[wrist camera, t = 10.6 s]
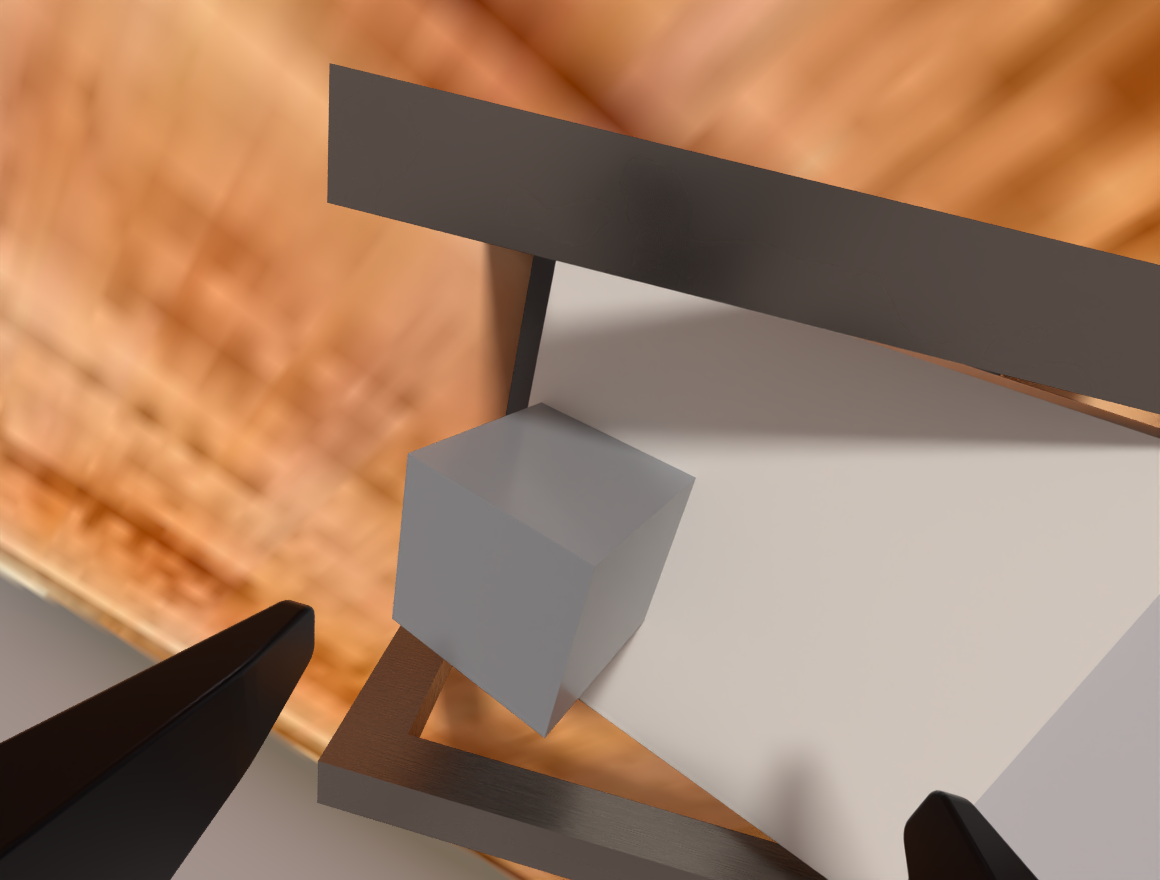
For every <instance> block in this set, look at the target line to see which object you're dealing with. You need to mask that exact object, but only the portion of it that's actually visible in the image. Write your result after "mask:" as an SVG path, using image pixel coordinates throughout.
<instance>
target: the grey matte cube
mask: <svg viewBox="0 0 1160 880" xmlns="http://www.w3.org/2000/svg"><path fill="white" fill-rule="evenodd" d="M695 479H696V477H694V476H692V475H689V474H687V473H685V472H683V471H681V470H679V469H677V468H675V467H673V466H671V465H669V464H667V463H665V462H663V461H661V460H659V459H657V458H655V457H653V456H650V455H648V454H646V453H644V452H642V451H640V450H638V449H636V448H634V447H632V446H630V445H628V444H626V443H624V442H622V441H620V440H618V439H616V438H613V437H611V436H609V435H607V434H605V433H603V432H601V431H599V430H597V429H595V428H593V427H591V426H589V425H587V424H585V423H583V422H581V421H579V420H577V419H574V418H572V417H570V416H568V415H566V414H564V413H562V412H560V411H558V410H556V409H554V408H552V407H550V406H548V405H546V404H544V403H542V402H541V403H538V404H536V405H533V406H531V407H528V408H525V409H523V410H520V411H517V412H515V413H512V414H510V415H507V416H504V417H502V418H499V419H497V420H494V421H491V422H489V423H486V424H483V425H481V426H478V427H476V428H473V429H470V430H468V431H465V432H463V433H460V434H457V435H455V436H452V437H449V438H447V439H444V440H442V441H439V442H436V443H434V444H431V445H429V446H426V447H423V448H421V449H418V450H415V451H413V452H410V453H408V458H407V469H406V479H405V490H404V500H403V511H402V521H401V532H400V542H399V553H398V563H397V574H396V584H395V595H394V606H393V616H392V619H393V620H395V621H396V622H397V623H399V624H400V625H401V626H402V627H404V628H405V629H406V630H407V631H409V632H410V633H411V634H413V635H414V636H415V637H416V638H418V639H419V640H420V641H422V642H423V643H424V644H425V645H427V646H428V647H429V648H430V649H432V650H433V651H434V652H436V653H437V654H438V655H439V656H441V657H442V658H443V659H444V660H446V661H447V662H448V663H450V664H451V665H452V666H453V667H455V668H456V669H457V670H458V671H460V672H461V673H462V674H464V675H465V676H466V677H467V678H469V679H470V680H471V681H473V682H474V683H475V684H476V685H478V686H479V687H480V688H481V689H483V690H484V691H485V692H487V693H488V694H489V695H490V696H492V697H493V698H494V699H495V700H497V701H498V702H499V703H501V704H502V705H503V706H504V707H506V708H507V709H508V710H509V711H511V712H512V713H513V714H515V715H516V716H517V717H518V718H520V719H521V720H522V721H524V722H525V723H526V724H527V725H529V726H530V727H531V728H532V729H534V730H535V731H536V732H538V733H539V734H540V735H541V736H543V737H544V738H545V737H546V736H547V735H548V734H549V732H550V731H551V730H552V729H553V728H554V726H555V725H556V724H557V723H558V722H559V721H560V719H561V718H562V717H563V716H564V715H565V713H566V712H567V711H568V710H569V709H570V708H571V706H572V705H573V704H574V703H575V702H576V700H577V699H578V698H579V697H580V696H581V695H582V693H583V692H584V691H585V690H586V689H587V688H588V686H589V685H590V684H591V683H592V682H593V680H594V679H595V678H596V677H597V676H598V675H599V673H600V672H601V671H602V670H603V669H604V667H605V666H606V665H607V664H608V663H609V662H610V660H611V659H612V658H613V657H614V656H615V654H616V653H617V652H618V651H619V650H620V649H621V647H622V646H623V645H624V644H625V643H626V642H627V640H628V639H629V638H630V637H631V636H632V634H633V633H634V632H635V631H636V630H637V629H638V627H639V626H640V625H641V624H642V623H643V621H644V620H645V617H646V614H647V612H648V609H649V606H650V603H651V601H652V598H653V595H654V592H655V590H656V587H657V584H658V581H659V579H660V576H661V573H662V570H663V568H664V565H665V562H666V559H667V557H668V554H669V551H670V548H671V546H672V543H673V540H674V537H675V535H676V532H677V529H678V526H679V523H680V521H681V518H682V515H683V512H684V510H685V507H686V504H687V501H688V499H689V496H690V493H691V490H692V488H693V485H694V482H695Z"/></svg>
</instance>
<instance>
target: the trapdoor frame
mask: <svg viewBox="0 0 1160 880" xmlns="http://www.w3.org/2000/svg"><path fill="white" fill-rule="evenodd" d="M327 203H331V204H335V205H339V206H343V207H347V208H351V209H355V210H359V211H363V212H367V213H371V214H375V215H379V216H382V217H386V218H390V219H394V220H398V221H402V222H406V223H410V224H414V225H418V226H422V227H426V228H430V229H434V230H437V231H441V232H445V233H449V234H453V235H457V236H461V237H465V238H469V239H473V240H477V241H481V242H485V243H489V244H492V245H496V246H500V247H504V248H508V249H512V250H516V251H520V252H524V253H528V254H532V255H534V257H533V263H532V269H531V275H530V280H529V286H528V292H527V297H526V303H525V309H524V315H523V320H522V326H521V332H520V337H519V343H518V349H517V355H516V360H515V366H514V372H513V377H512V383H511V389H510V395H509V400H508V406H507V412H506V416H507V415H510V414H512V413H515V412H517V411H520V410H523V409H525V408H528V404H529V399H530V394H531V388H532V383H533V378H534V373H535V368H536V363H537V357H538V352H539V347H540V342H541V337H542V331H543V326H544V321H545V316H546V311H547V306H548V300H549V295H550V290H551V285H552V280H553V274H554V269H555V264H556V261H559V262H563V263H567V264H571V265H575V266H579V267H583V268H587V269H591V270H595V271H599V272H603V273H606V274H610V275H614V276H618V277H622V278H626V279H630V280H634V281H638V282H642V283H646V284H650V285H654V286H658V287H662V288H665V289H669V290H673V291H677V292H681V293H685V294H689V295H693V296H697V297H701V298H705V299H709V300H713V301H717V302H720V303H724V304H728V305H732V306H736V307H740V308H744V309H748V310H752V311H756V312H760V313H764V314H768V315H772V316H776V317H779V318H783V319H787V320H791V321H795V322H799V323H803V324H807V325H811V326H815V327H819V328H823V329H827V330H831V331H834V332H838V333H842V334H846V335H850V336H854V337H858V338H862V339H866V340H870V341H874V342H878V343H882V344H886V345H890V346H893V347H897V348H901V349H905V350H909V351H913V352H917V353H921V354H925V355H929V356H933V357H937V358H941V359H945V360H948V361H952V362H956V363H960V364H964V365H967V366H970V367H973V368H976V369H979V370H983V371H986V372H989V373H992V374H995V375H998V376H1000V374H1003V375H1007V376H1011V377H1015V378H1019V379H1023V380H1027V381H1031V382H1035V383H1039V384H1043V385H1047V386H1051V387H1055V388H1059V389H1062V390H1066V391H1070V392H1074V393H1078V394H1082V395H1086V396H1090V397H1094V398H1098V399H1102V400H1106V401H1110V402H1114V403H1117V404H1121V405H1125V406H1129V407H1133V408H1137V409H1141V410H1145V411H1149V412H1153V413H1157V414H1160V265H1157V264H1153V263H1149V262H1145V261H1141V260H1136V259H1132V258H1128V257H1124V256H1120V255H1116V254H1112V253H1108V252H1103V251H1099V250H1095V249H1091V248H1087V247H1083V246H1079V245H1075V244H1071V243H1066V242H1062V241H1058V240H1054V239H1050V238H1046V237H1042V236H1038V235H1034V234H1029V233H1025V232H1021V231H1017V230H1013V229H1009V228H1005V227H1001V226H997V225H992V224H988V223H984V222H980V221H976V220H972V219H968V218H964V217H960V216H955V215H951V214H947V213H943V212H939V211H935V210H931V209H927V208H923V207H918V206H914V205H910V204H906V203H902V202H898V201H894V200H890V199H886V198H881V197H877V196H873V195H869V194H865V193H861V192H857V191H853V190H849V189H844V188H840V187H836V186H832V185H828V184H824V183H820V182H816V181H812V180H807V179H803V178H799V177H795V176H791V175H787V174H783V173H779V172H775V171H770V170H766V169H762V168H758V167H754V166H750V165H746V164H742V163H738V162H733V161H729V160H725V159H721V158H717V157H713V156H709V155H705V154H701V153H696V152H692V151H688V150H684V149H680V148H676V147H672V146H668V145H664V144H659V143H655V142H651V141H647V140H643V139H639V138H635V137H631V136H627V135H622V134H618V133H614V132H610V131H606V130H602V129H598V128H594V127H590V126H585V125H581V124H577V123H573V122H569V121H565V120H561V119H557V118H553V117H548V116H544V115H540V114H536V113H532V112H528V111H524V110H520V109H516V108H511V107H507V106H503V105H499V104H495V103H491V102H487V101H483V100H479V99H474V98H470V97H466V96H462V95H458V94H454V93H450V92H446V91H442V90H437V89H433V88H429V87H425V86H421V85H417V84H413V83H409V82H405V81H400V80H396V79H392V78H388V77H384V76H380V75H376V74H372V73H368V72H363V71H359V70H355V69H351V68H347V67H343V66H339V65H335V64H331V63H330V75H329V135H328V196H327ZM451 668H452V665H451V664H450V663H448V662H447V661H446V660H444V659H443V658H442V657H441V656H439V655H438V654H437V653H436V652H434V651H433V650H432V649H430V648H429V647H428V646H427V645H425V644H424V643H423V642H422V641H420V640H419V639H418V638H416V637H415V636H414V635H413V634H411V633H410V632H409V631H407V630H406V629H405V628H404V627H402V626H400V627H399V629H398V631H397V632H396V634H395V636H394V637H393V639H392V641H391V642H390V644H389V645H388V647H387V649H386V650H385V652H384V654H383V655H382V657H381V659H380V660H379V662H378V664H377V665H376V667H375V668H374V670H373V672H372V673H371V675H370V677H369V678H368V680H367V682H366V683H365V685H364V687H363V688H362V690H361V691H360V693H359V695H358V696H357V698H356V700H355V701H354V703H353V705H352V706H351V708H350V710H349V711H348V713H347V714H346V716H345V718H344V719H343V721H342V723H341V724H340V726H339V728H338V729H337V731H336V733H335V734H334V736H333V737H332V739H331V741H330V742H329V744H328V746H327V747H326V749H325V751H324V752H323V754H322V756H321V757H320V759H319V760H318V800H317V801H318V802H317V803H320V804H324V805H327V806H330V807H333V808H337V809H340V810H343V811H347V812H350V813H353V814H357V815H360V816H363V817H366V818H370V819H373V820H376V821H380V822H383V823H386V824H390V825H393V826H396V827H400V828H403V829H406V830H409V831H413V832H416V833H420V834H423V835H426V836H429V837H433V838H436V839H439V840H443V841H446V842H449V843H452V844H456V845H459V846H462V847H466V848H469V849H472V850H475V851H479V852H482V853H485V854H489V855H492V856H495V857H499V858H502V859H505V860H508V861H512V862H515V863H518V864H522V865H525V866H528V867H532V868H535V869H538V870H542V871H545V872H548V873H551V874H555V875H558V876H561V877H565V878H568V879H571V880H828V879H827V878H825V877H824V876H823V875H821V874H820V873H818V872H817V871H816V870H814V869H813V868H812V867H810V866H809V865H807V864H806V863H805V862H803V861H802V860H801V859H799V858H798V857H796V856H795V855H794V854H792V853H791V852H789V851H788V850H787V849H785V848H784V847H783V846H781V845H780V844H778V843H774V842H771V841H767V840H764V839H761V838H757V837H754V836H751V835H747V834H744V833H740V832H737V831H734V830H730V829H727V828H723V827H720V826H717V825H713V824H710V823H706V822H703V821H700V820H696V819H693V818H690V817H686V816H683V815H679V814H676V813H673V812H669V811H666V810H662V809H659V808H656V807H652V806H649V805H645V804H642V803H639V802H635V801H632V800H629V799H625V798H622V797H618V796H615V795H612V794H608V793H605V792H601V791H598V790H595V789H591V788H588V787H584V786H581V785H578V784H574V783H571V782H568V781H564V780H561V779H557V778H554V777H551V776H547V775H544V774H540V773H537V772H534V771H530V770H527V769H523V768H520V767H517V766H513V765H510V764H506V763H503V762H500V761H496V760H493V759H490V758H486V757H483V756H479V755H476V754H473V753H469V752H466V751H462V750H459V749H456V748H452V747H449V746H445V745H442V744H439V743H435V742H432V741H429V740H425V739H422V738H420V736H421V733H422V731H423V729H424V727H425V725H426V722H427V720H428V718H429V716H430V714H431V711H432V709H433V707H434V705H435V703H436V700H437V698H438V696H439V694H440V692H441V689H442V687H443V685H444V683H445V681H446V678H447V676H448V674H449V672H450V670H451ZM908 880H909V879H908Z"/></svg>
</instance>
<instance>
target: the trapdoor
mask: <svg viewBox="0 0 1160 880" xmlns="http://www.w3.org/2000/svg"><path fill="white" fill-rule="evenodd" d="M541 402H542V403H544V404H546V405H548V406H550V407H552V408H554V409H556V410H558V411H560V412H562V413H564V414H566V415H568V416H570V417H572V418H574V419H577V420H579V421H581V422H583V423H585V424H587V425H589V426H591V427H593V428H595V429H597V430H599V431H601V432H603V433H605V434H607V435H609V436H611V437H613V438H616V439H618V440H620V441H622V442H624V443H626V444H628V445H630V446H632V447H634V448H636V449H638V450H640V451H642V452H644V453H646V454H648V455H650V456H653V457H655V458H657V459H659V460H661V461H663V462H665V463H667V464H669V465H671V466H673V467H675V468H677V469H679V470H681V471H683V472H685V473H687V474H689V475H692V476H694V477H696V479H695V482H694V485H693V488H692V490H691V493H690V496H689V499H688V501H687V504H686V507H685V510H684V512H683V515H682V518H681V521H680V523H679V526H678V529H677V532H676V535H675V537H674V540H673V543H672V546H671V548H670V551H669V554H668V557H667V559H666V562H665V565H664V568H663V570H662V573H661V576H660V579H659V581H658V584H657V587H656V590H655V592H654V595H653V598H652V601H651V603H650V606H649V609H648V612H647V614H646V617H645V620H644V621H643V623H642V624H641V625H640V626H639V627H638V629H637V630H636V631H635V632H634V633H633V634H632V636H631V637H630V638H629V639H628V640H627V642H626V643H625V644H624V645H623V646H622V647H621V649H620V650H619V651H618V652H617V653H616V654H615V656H614V657H613V658H612V659H611V660H610V662H609V663H608V664H607V665H606V666H605V667H604V669H603V670H602V671H601V672H600V673H599V675H598V676H597V677H596V678H595V679H594V680H593V682H592V683H591V684H590V685H589V686H588V688H587V689H586V690H585V691H584V692H583V693H582V695H581V696H580V697H579V698H578V699H580V700H581V701H582V702H584V703H585V704H587V705H588V706H589V707H591V708H592V709H593V710H595V711H596V712H598V713H599V714H600V715H602V716H603V717H605V718H606V719H607V720H609V721H610V722H611V723H613V724H614V725H616V726H617V727H618V728H620V729H621V730H622V731H624V732H625V733H627V734H628V735H629V736H631V737H632V738H634V739H635V740H636V741H638V742H639V743H640V744H642V745H643V746H645V747H646V748H647V749H649V750H650V751H651V752H653V753H654V754H656V755H657V756H658V757H660V758H661V759H662V760H664V761H665V762H667V763H668V764H669V765H671V766H672V767H674V768H675V769H676V770H678V771H679V772H680V773H682V774H683V775H685V776H686V777H687V778H689V779H690V780H691V781H693V782H694V783H696V784H697V785H698V786H700V787H701V788H703V789H704V790H705V791H707V792H708V793H709V794H711V795H712V796H714V797H715V798H716V799H718V800H719V801H720V802H722V803H723V804H725V805H726V806H727V807H729V808H730V809H732V810H733V811H734V812H736V813H737V814H738V815H740V816H741V817H743V818H744V819H745V820H747V821H748V822H749V823H751V824H752V825H754V826H755V827H756V828H758V829H759V830H760V831H762V832H763V833H765V834H766V835H767V836H769V837H770V838H772V839H773V840H774V841H776V842H777V843H778V844H780V845H781V846H783V847H784V848H785V849H787V850H788V851H789V852H791V853H792V854H794V855H795V856H796V857H798V858H799V859H801V860H802V861H803V862H805V863H806V864H807V865H809V866H810V867H812V868H813V869H814V870H816V871H817V872H818V873H820V874H821V875H823V876H824V877H825V878H827V879H828V880H908V879H909V878H908V870H907V863H906V856H905V848H904V840H903V834H904V827H905V824H906V822H907V820H908V819H909V817H910V816H911V815H912V814H913V813H914V811H915V810H916V809H917V808H918V807H919V805H920V804H921V803H922V802H923V801H924V799H925V798H926V797H927V796H928V795H929V794H930V793H931V792H932V791H936V790H941V791H944V792H948V793H951V794H954V795H958V796H961V797H964V798H966V799H967V800H969V801H970V802H971V803H972V804H973V805H974V806H975V807H976V808H977V809H978V810H979V811H980V813H981V814H982V815H983V816H984V817H985V818H986V820H987V821H988V822H989V823H990V824H991V825H992V826H993V828H994V829H995V830H996V831H997V832H998V833H999V835H1000V836H1001V837H1002V838H1003V839H1004V840H1005V841H1006V843H1007V844H1008V845H1009V846H1010V847H1011V848H1012V850H1013V851H1014V852H1015V853H1016V854H1017V855H1018V856H1019V858H1020V859H1021V860H1022V861H1023V862H1024V863H1025V865H1026V866H1027V867H1028V868H1029V869H1030V870H1031V871H1032V873H1033V874H1034V875H1035V876H1036V877H1037V878H1038V880H1160V428H1157V427H1154V426H1151V425H1148V424H1145V423H1142V422H1139V421H1136V420H1133V419H1130V418H1127V417H1123V416H1120V415H1117V414H1114V413H1111V412H1108V411H1105V410H1102V409H1099V408H1096V407H1093V406H1090V405H1087V404H1084V403H1081V402H1078V401H1074V400H1071V399H1068V398H1065V397H1062V396H1059V395H1056V394H1053V393H1050V392H1047V391H1044V390H1041V389H1038V388H1035V387H1032V386H1029V385H1025V384H1022V383H1019V382H1016V381H1013V380H1010V379H1007V378H1004V377H1001V376H998V375H995V374H992V373H989V372H986V371H983V370H979V369H976V368H973V367H970V366H967V365H964V364H960V363H956V362H952V361H948V360H945V359H941V358H937V357H933V356H929V355H925V354H921V353H917V352H913V351H909V350H905V349H901V348H897V347H893V346H890V345H886V344H882V343H878V342H874V341H870V340H866V339H862V338H858V337H854V336H850V335H846V334H842V333H838V332H834V331H831V330H827V329H823V328H819V327H815V326H811V325H807V324H803V323H799V322H795V321H791V320H787V319H783V318H779V317H776V316H772V315H768V314H764V313H760V312H756V311H752V310H748V309H744V308H740V307H736V306H732V305H728V304H724V303H720V302H717V301H713V300H709V299H705V298H701V297H697V296H693V295H689V294H685V293H681V292H677V291H673V290H669V289H665V288H662V287H658V286H654V285H650V284H646V283H642V282H638V281H634V280H630V279H626V278H622V277H618V276H614V275H610V274H606V273H603V272H599V271H595V270H591V269H587V268H583V267H579V266H575V265H571V264H567V263H563V262H559V261H556V264H555V269H554V274H553V280H552V285H551V290H550V295H549V300H548V306H547V311H546V316H545V321H544V326H543V331H542V337H541V342H540V347H539V352H538V357H537V363H536V368H535V373H534V378H533V383H532V388H531V394H530V399H529V404H528V407H531V406H533V405H536V404H538V403H541Z"/></svg>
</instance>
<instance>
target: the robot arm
mask: <svg viewBox="0 0 1160 880" xmlns="http://www.w3.org/2000/svg"><path fill="white" fill-rule="evenodd" d="M314 624H315V615H314V610H313V608H312V607H310V606H309V605H305V604H302V603H298V602H295V601H291V600H284V601H281V602H278V603H276V604H274V605H273V606H271V607H269V608H267V609H265V610H263V611H261V612H259V613H257V614H255V615H253V616H251V617H249V618H247V619H245V620H243V621H241V622H239V623H237V624H235V625H233V626H231V627H229V628H227V629H225V630H223V631H221V632H219V633H217V634H215V635H213V636H211V637H209V638H207V639H205V640H203V641H201V642H199V643H197V644H195V645H193V646H191V647H189V648H187V649H185V650H183V651H181V652H179V653H177V654H176V655H174V656H172V657H170V658H168V659H166V660H164V661H162V662H160V663H158V664H156V665H154V666H152V667H150V668H148V669H146V670H144V671H142V672H140V673H138V674H136V675H134V676H132V677H130V678H128V679H126V680H124V681H122V682H120V683H118V684H116V685H114V686H112V687H110V688H108V689H106V690H104V691H102V692H100V693H98V694H97V695H94V696H93V697H90V698H89V699H86V700H84V701H82V702H81V703H79V704H77V705H75V706H73V707H71V708H69V709H67V710H65V711H63V712H61V713H59V714H57V715H55V716H53V717H51V718H49V719H47V720H45V721H43V722H41V723H39V724H37V725H35V726H33V727H31V728H29V729H27V730H25V731H23V732H21V733H19V734H17V735H15V736H13V737H11V738H9V739H7V740H6V741H3V742H2V743H0V880H171V878H172V877H173V875H174V874H175V872H176V871H177V870H178V868H179V867H180V865H181V864H182V862H183V861H184V859H185V858H186V857H187V855H188V854H189V852H190V851H191V850H192V848H193V847H194V845H195V844H196V843H197V841H198V840H199V838H200V837H201V835H202V834H203V832H204V831H205V830H206V828H207V827H208V825H209V824H210V823H211V821H212V820H213V818H214V817H215V815H216V814H217V813H218V811H219V810H220V808H221V807H222V805H223V804H224V803H225V801H226V800H227V798H228V797H229V796H230V794H231V793H232V791H233V790H234V788H235V787H236V786H237V784H238V783H239V781H240V780H241V778H242V777H243V775H244V774H245V772H246V771H247V769H248V768H249V766H250V765H251V763H252V761H253V760H254V758H255V756H256V755H257V753H258V751H259V750H260V748H261V746H262V745H263V743H264V741H265V739H266V738H267V736H268V734H269V732H270V730H271V729H272V727H273V725H274V723H275V722H276V720H277V718H278V716H279V715H280V713H281V711H282V709H283V708H284V706H285V704H286V702H287V701H288V699H289V697H290V695H291V694H292V692H293V690H294V688H295V686H296V685H297V683H298V681H299V679H300V678H301V676H302V674H303V672H304V671H305V669H306V667H307V665H308V663H309V662H310V659H311V657H312V654H313V651H314ZM903 840H904V848H905V856H906V863H907V870H908V878H909V880H1038V878H1037V877H1036V876H1035V875H1034V874H1033V873H1032V871H1031V870H1030V869H1029V868H1028V867H1027V866H1026V865H1025V863H1024V862H1023V861H1022V860H1021V859H1020V858H1019V856H1018V855H1017V854H1016V853H1015V852H1014V851H1013V850H1012V848H1011V847H1010V846H1009V845H1008V844H1007V843H1006V841H1005V840H1004V839H1003V838H1002V837H1001V836H1000V835H999V833H998V832H997V831H996V830H995V829H994V828H993V826H992V825H991V824H990V823H989V822H988V821H987V820H986V818H985V817H984V816H983V815H982V814H981V813H980V811H979V810H978V809H977V808H976V807H975V806H974V805H973V804H972V803H971V802H970V801H969V800H967V799H966V798H964V797H961V796H958V795H954V794H951V793H948V792H944V791H941V790H936V791H932V792H931V793H930V794H929V795H928V796H927V797H926V798H925V799H924V801H923V802H922V803H921V804H920V805H919V807H918V808H917V809H916V810H915V811H914V813H913V814H912V815H911V816H910V817H909V819H908V820H907V822H906V824H905V827H904V834H903Z"/></svg>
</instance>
